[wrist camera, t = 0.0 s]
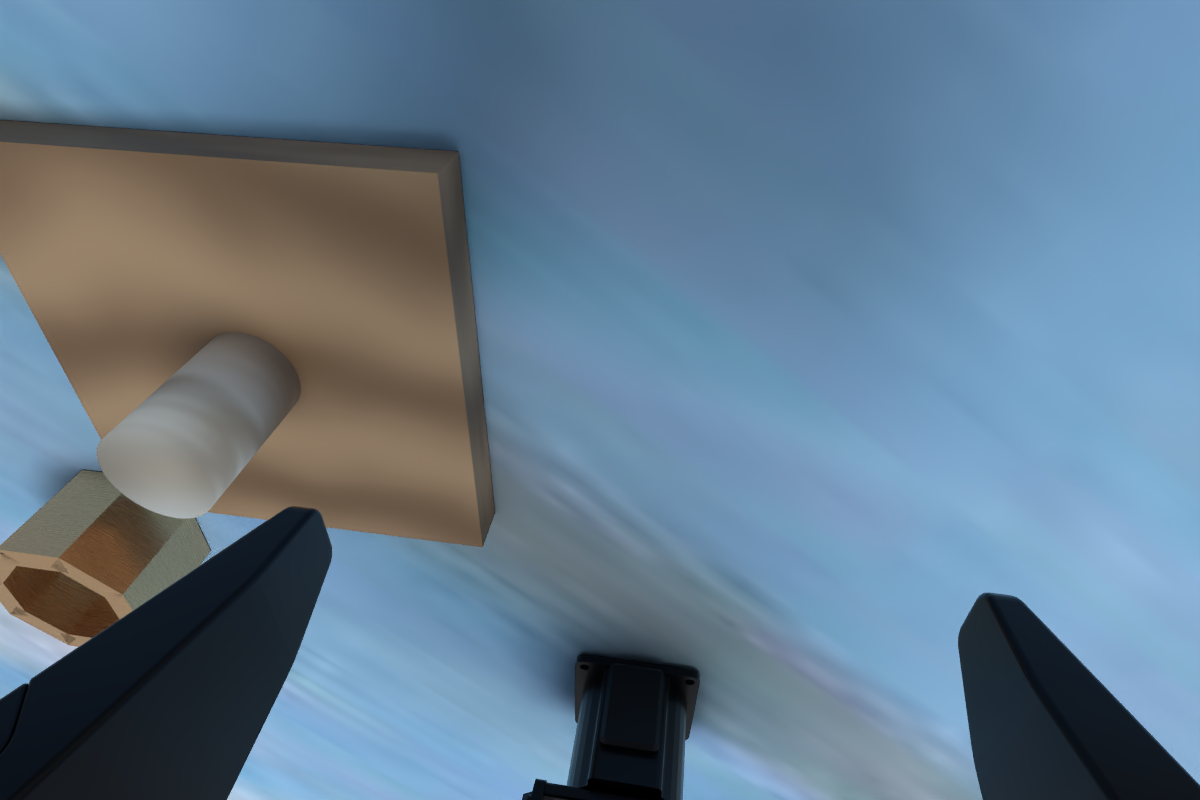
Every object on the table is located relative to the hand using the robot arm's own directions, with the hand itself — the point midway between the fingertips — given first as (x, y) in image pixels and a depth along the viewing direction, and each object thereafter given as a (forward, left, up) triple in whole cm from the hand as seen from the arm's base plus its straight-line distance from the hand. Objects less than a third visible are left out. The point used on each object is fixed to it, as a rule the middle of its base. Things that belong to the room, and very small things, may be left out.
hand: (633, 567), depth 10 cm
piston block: (-7, +15, -15) cm, 22 cm away
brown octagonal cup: (-19, +26, -15) cm, 36 cm away
